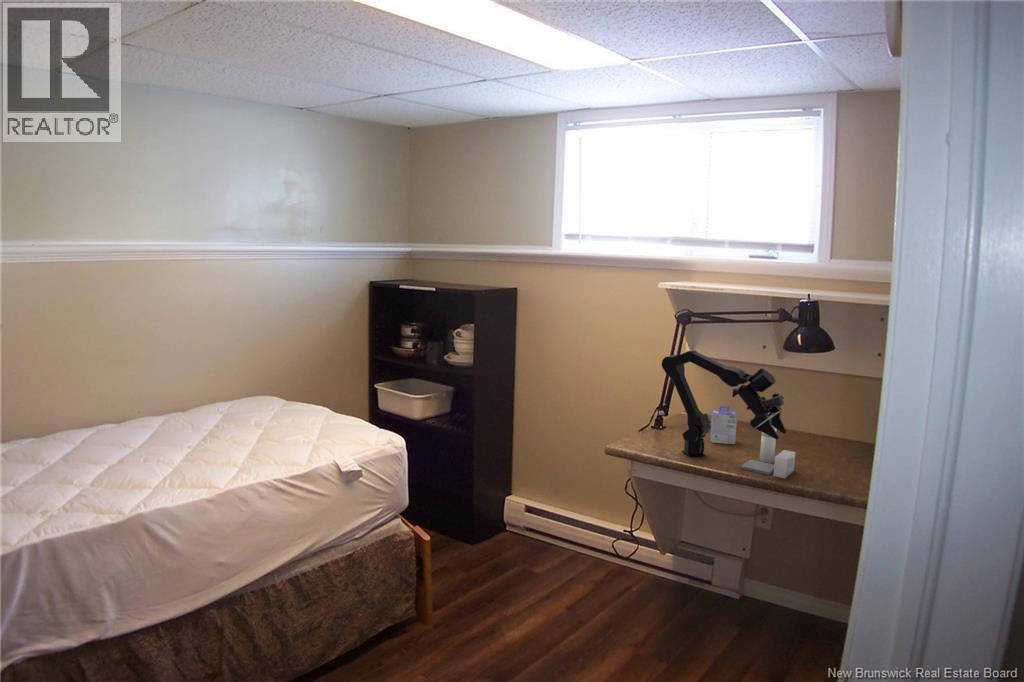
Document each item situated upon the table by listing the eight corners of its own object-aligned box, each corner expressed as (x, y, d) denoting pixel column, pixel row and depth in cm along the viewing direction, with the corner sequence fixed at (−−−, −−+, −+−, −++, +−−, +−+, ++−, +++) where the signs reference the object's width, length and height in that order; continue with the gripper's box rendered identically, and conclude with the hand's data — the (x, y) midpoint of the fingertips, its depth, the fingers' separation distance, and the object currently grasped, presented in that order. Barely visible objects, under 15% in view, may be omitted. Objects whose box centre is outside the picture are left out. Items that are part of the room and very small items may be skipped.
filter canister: (765, 463, 260) (767, 429, 258) (756, 459, 265) (759, 425, 263) (777, 462, 261) (779, 428, 259) (768, 458, 266) (771, 424, 264)
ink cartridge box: (734, 440, 288) (736, 406, 285) (735, 444, 282) (738, 409, 280) (709, 439, 290) (711, 404, 287) (710, 442, 284) (712, 407, 282)
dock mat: (740, 468, 253) (740, 466, 253) (750, 462, 261) (750, 459, 261) (769, 475, 247) (769, 472, 247) (778, 467, 255) (778, 465, 255)
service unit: (772, 475, 247) (774, 456, 245) (781, 468, 254) (783, 449, 253) (785, 478, 244) (787, 459, 243) (794, 471, 252) (795, 452, 251)
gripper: (762, 391, 241) (793, 428, 236) (778, 382, 256) (807, 417, 251) (737, 409, 246) (766, 446, 242) (754, 400, 261) (782, 435, 257)
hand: (781, 435), depth 248 cm, fingers open, 9 cm apart
